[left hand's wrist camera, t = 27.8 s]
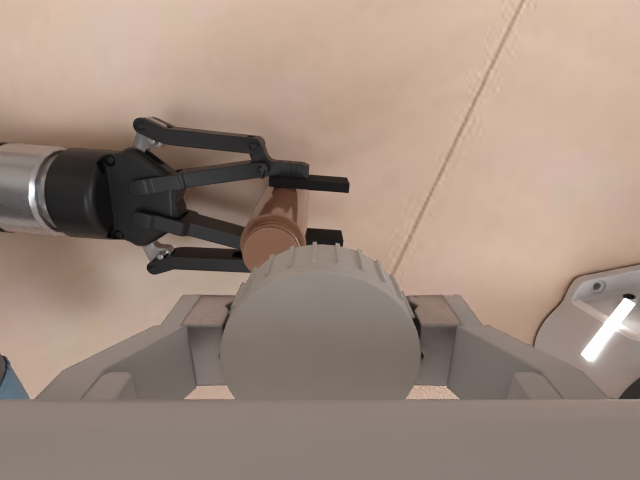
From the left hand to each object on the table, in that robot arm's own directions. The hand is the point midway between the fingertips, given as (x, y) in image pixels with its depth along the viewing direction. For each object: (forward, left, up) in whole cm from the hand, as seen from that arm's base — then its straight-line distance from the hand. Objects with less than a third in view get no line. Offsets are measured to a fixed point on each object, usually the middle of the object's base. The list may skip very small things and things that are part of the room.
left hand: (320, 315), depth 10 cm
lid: (0, 0, +2) cm, 2 cm away
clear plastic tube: (+4, +1, -27) cm, 28 cm away
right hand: (-1, +4, -21) cm, 22 cm away
